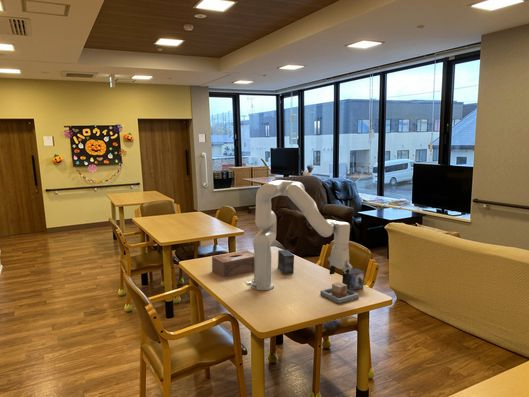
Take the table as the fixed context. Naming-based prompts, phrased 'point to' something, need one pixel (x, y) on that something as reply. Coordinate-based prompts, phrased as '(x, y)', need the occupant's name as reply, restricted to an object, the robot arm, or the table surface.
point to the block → (339, 290)
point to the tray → (349, 297)
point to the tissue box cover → (233, 263)
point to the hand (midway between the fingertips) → (338, 277)
